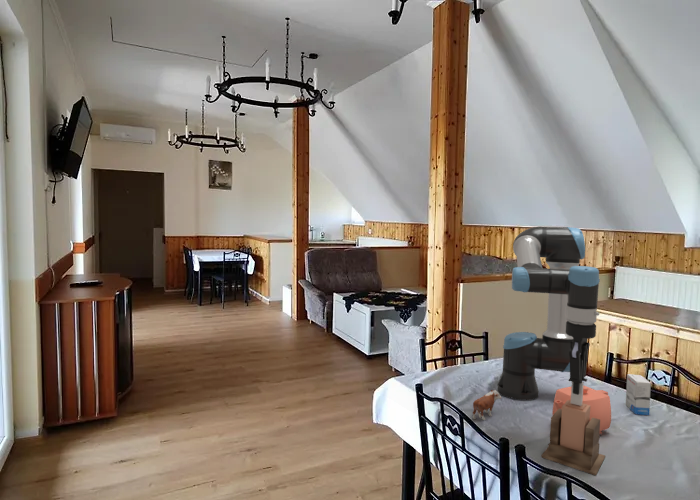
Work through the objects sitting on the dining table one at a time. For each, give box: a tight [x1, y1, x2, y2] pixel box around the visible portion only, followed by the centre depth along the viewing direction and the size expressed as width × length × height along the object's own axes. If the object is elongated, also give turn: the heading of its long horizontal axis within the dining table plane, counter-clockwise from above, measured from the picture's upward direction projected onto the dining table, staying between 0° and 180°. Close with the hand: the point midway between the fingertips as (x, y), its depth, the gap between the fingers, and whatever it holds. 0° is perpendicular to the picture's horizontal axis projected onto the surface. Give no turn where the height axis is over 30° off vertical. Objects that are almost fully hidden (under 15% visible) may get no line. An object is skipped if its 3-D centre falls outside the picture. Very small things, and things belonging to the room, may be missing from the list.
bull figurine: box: [472, 389, 502, 421], centre depth 156 cm, size 4×13×8 cm, turn 127°
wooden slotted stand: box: [540, 409, 606, 477], centre depth 130 cm, size 14×12×12 cm
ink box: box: [625, 373, 652, 416], centre depth 163 cm, size 9×5×12 cm, turn 168°
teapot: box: [551, 384, 612, 435], centre depth 147 cm, size 22×13×14 cm, turn 112°
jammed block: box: [560, 400, 590, 453], centre depth 130 cm, size 6×6×12 cm
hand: (576, 403), depth 129 cm, fingers closed
